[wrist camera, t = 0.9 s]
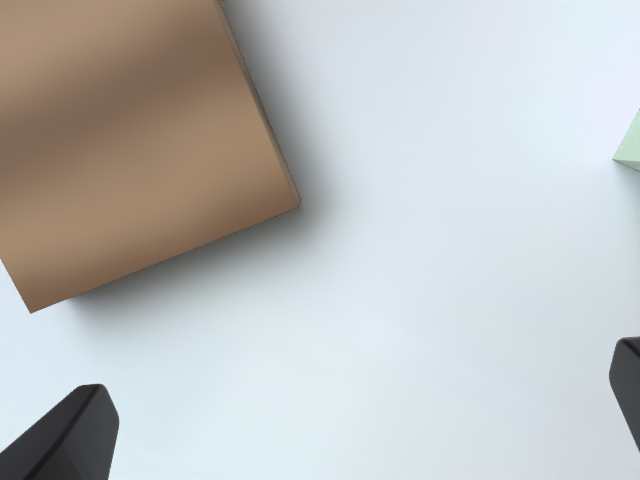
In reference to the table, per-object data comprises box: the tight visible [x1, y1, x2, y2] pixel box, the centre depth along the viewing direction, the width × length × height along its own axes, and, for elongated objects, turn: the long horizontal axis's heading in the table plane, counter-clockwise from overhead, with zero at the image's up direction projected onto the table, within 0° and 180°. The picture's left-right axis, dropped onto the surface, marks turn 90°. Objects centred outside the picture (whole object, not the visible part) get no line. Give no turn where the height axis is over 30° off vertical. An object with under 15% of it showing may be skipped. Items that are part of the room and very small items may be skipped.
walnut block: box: [0, 0, 301, 314], centre depth 21 cm, size 12×12×3 cm
